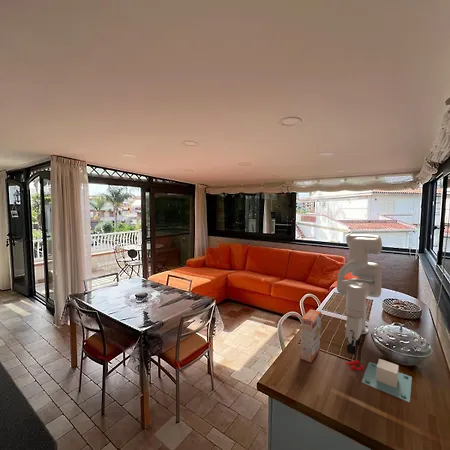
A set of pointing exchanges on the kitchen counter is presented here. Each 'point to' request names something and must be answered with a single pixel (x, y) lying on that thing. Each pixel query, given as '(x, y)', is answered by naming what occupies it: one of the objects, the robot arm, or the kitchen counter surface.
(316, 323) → the cracker box
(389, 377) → the base block
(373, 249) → the robot arm
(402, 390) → the baseplate
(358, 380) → the kitchen counter surface
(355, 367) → the bracket
